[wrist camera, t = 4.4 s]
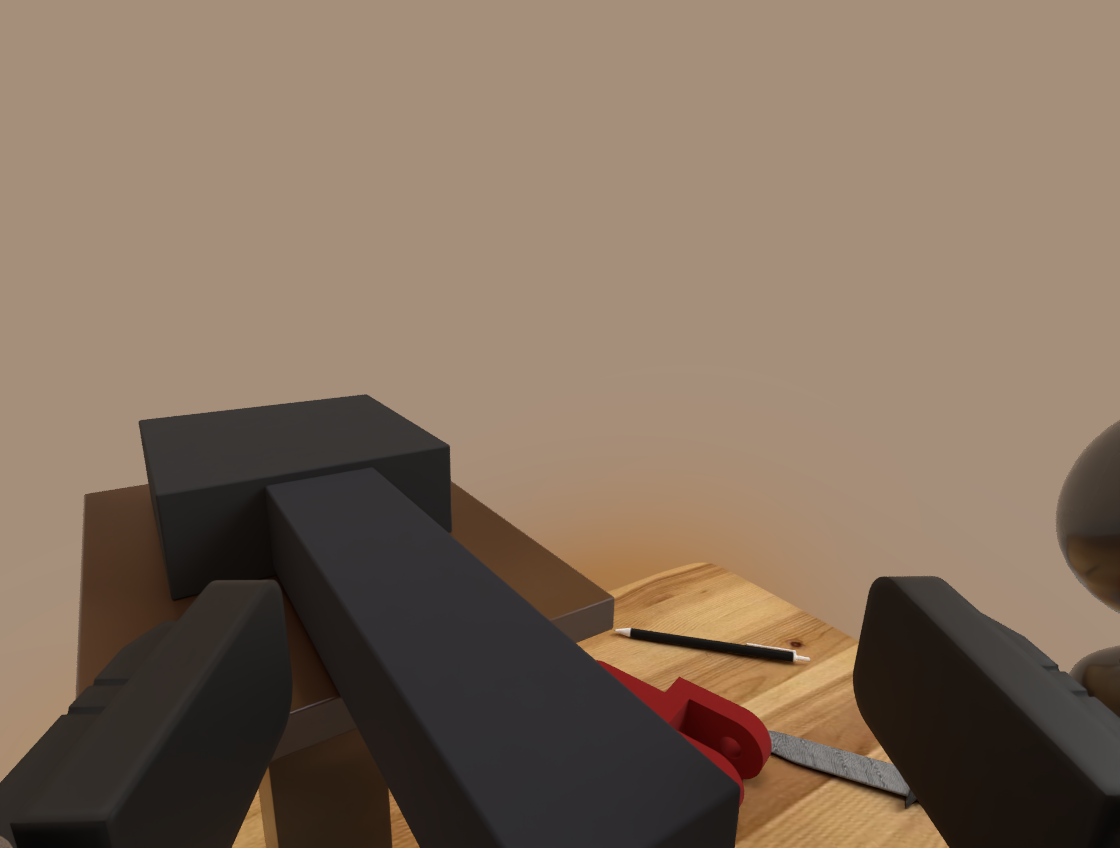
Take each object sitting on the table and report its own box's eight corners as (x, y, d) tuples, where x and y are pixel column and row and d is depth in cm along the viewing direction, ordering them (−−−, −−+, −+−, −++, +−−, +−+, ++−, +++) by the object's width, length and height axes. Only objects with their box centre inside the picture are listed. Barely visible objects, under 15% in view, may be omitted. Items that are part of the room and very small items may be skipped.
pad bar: (371, 462, 28) (367, 393, 27) (834, 858, 10) (861, 696, 10) (151, 500, 24) (138, 420, 23) (311, 1287, 6) (280, 1061, 5)
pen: (810, 664, 63) (810, 652, 63) (612, 634, 67) (614, 622, 68) (808, 664, 64) (808, 652, 64) (613, 634, 68) (615, 623, 69)
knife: (740, 717, 57) (729, 757, 53) (741, 707, 57) (730, 746, 52) (1055, 806, 48) (1074, 862, 43) (1058, 794, 48) (1077, 850, 43)
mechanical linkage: (766, 776, 50) (775, 723, 49) (729, 842, 45) (738, 785, 43) (594, 684, 59) (597, 637, 58) (545, 730, 54) (547, 680, 52)
